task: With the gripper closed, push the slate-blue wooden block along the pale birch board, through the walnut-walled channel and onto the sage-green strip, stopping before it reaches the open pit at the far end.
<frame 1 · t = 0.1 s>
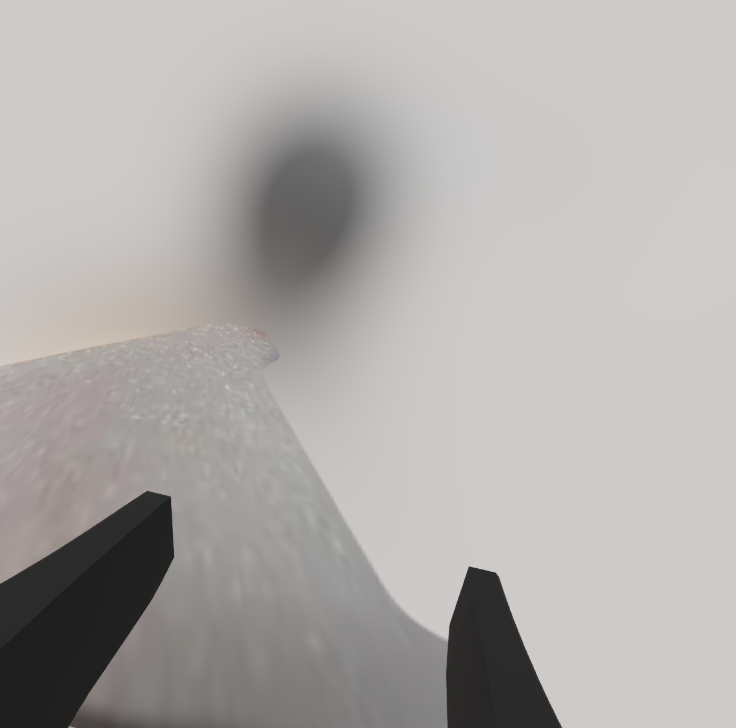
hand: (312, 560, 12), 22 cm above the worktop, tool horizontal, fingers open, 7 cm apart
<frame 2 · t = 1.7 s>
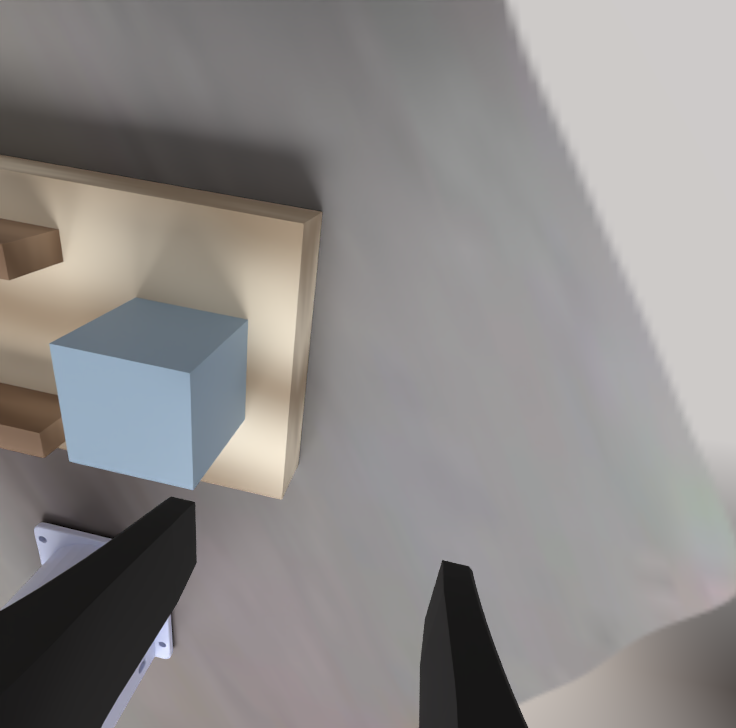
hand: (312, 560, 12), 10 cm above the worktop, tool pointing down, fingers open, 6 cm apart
block: (192, 360, 19), point 2 cm above the worktop, touching route board
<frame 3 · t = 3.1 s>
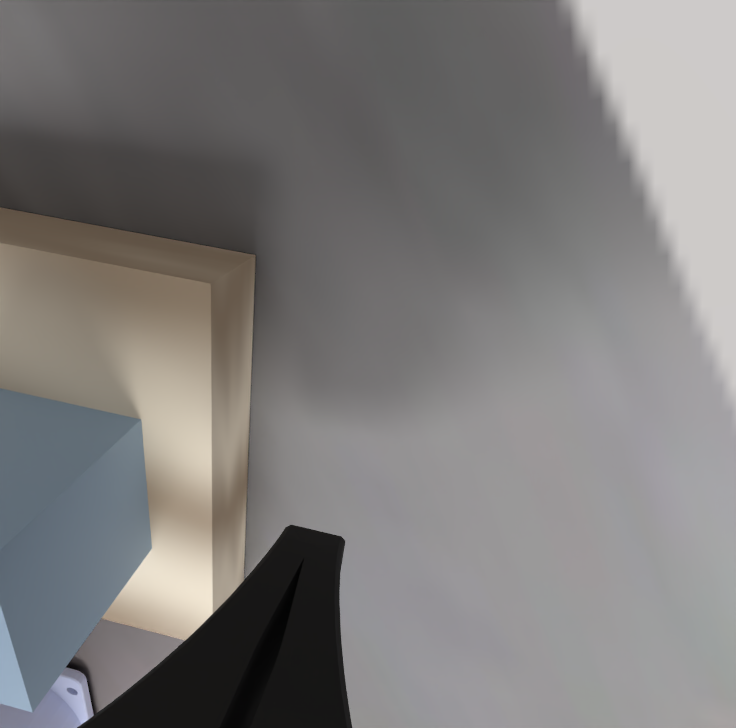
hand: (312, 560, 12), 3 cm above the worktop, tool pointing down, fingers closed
block: (69, 470, 13), point 2 cm above the worktop, touching route board
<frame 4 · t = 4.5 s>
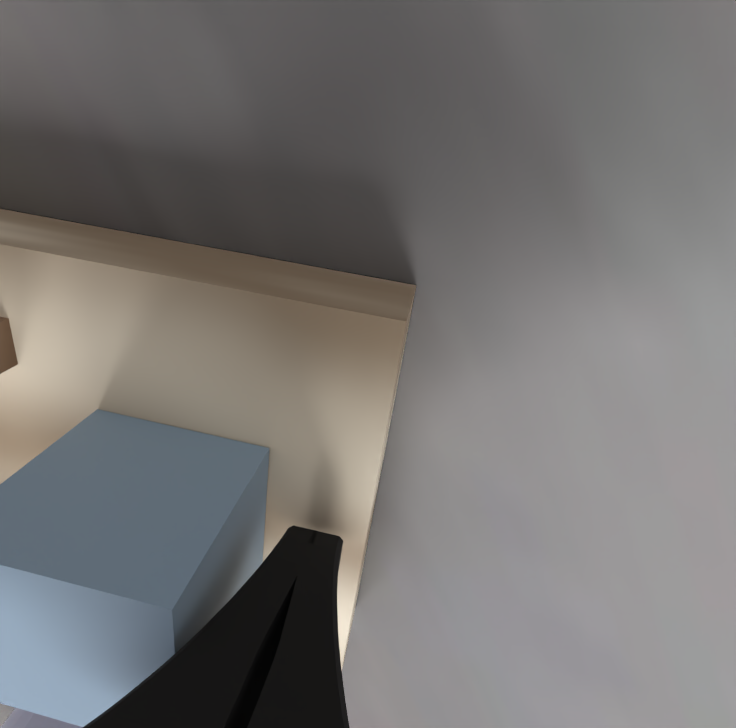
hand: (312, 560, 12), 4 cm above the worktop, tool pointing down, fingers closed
block: (184, 497, 13), point 3 cm above the worktop, touching gripper
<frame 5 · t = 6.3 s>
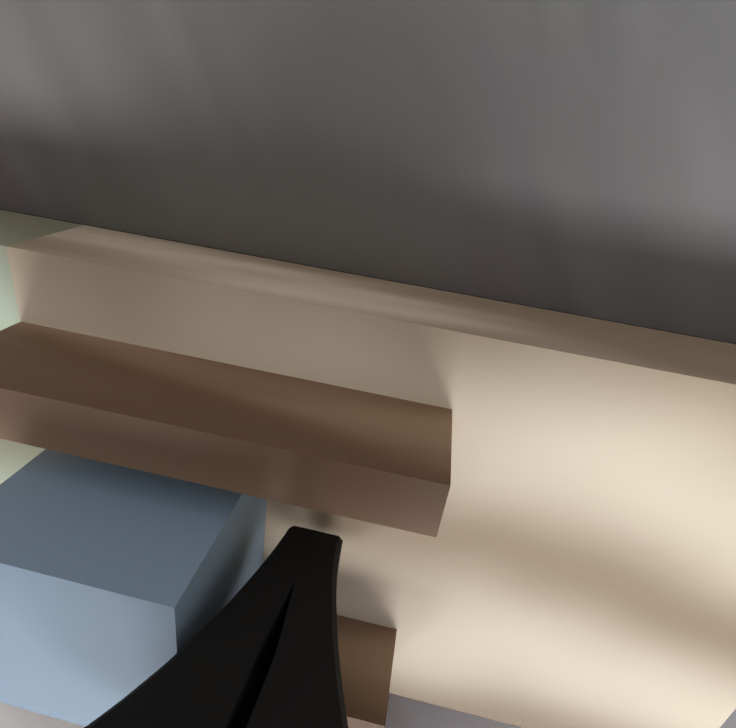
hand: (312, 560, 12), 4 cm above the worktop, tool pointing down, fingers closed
block: (185, 496, 13), point 3 cm above the worktop, touching gripper
route board: (198, 438, 15), on the worktop
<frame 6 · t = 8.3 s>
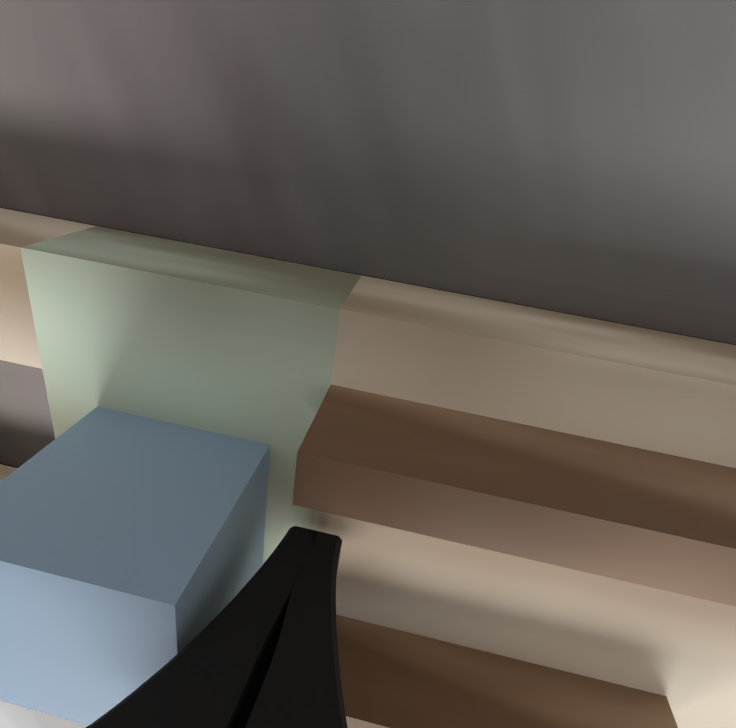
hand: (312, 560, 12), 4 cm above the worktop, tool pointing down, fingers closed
block: (184, 495, 13), point 3 cm above the worktop, touching gripper, route board
route board: (433, 489, 15), on the worktop
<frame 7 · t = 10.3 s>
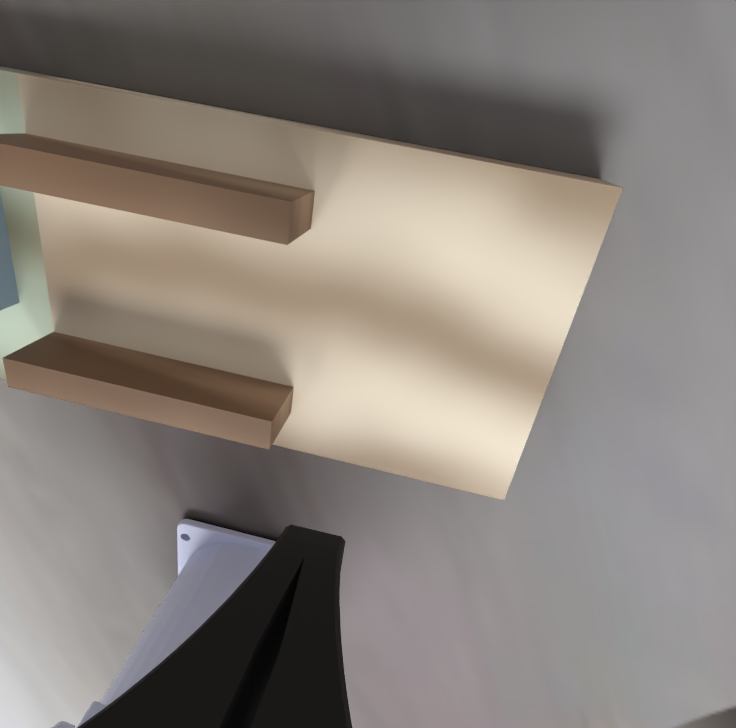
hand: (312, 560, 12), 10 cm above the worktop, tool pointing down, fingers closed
route board: (155, 257, 20), on the worktop
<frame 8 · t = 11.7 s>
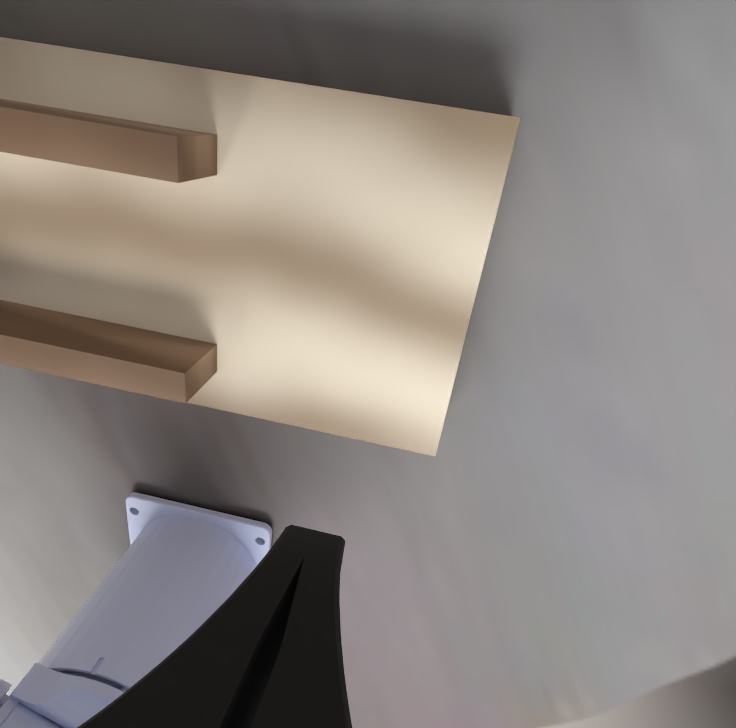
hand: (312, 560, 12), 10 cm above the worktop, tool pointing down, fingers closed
route board: (81, 219, 20), on the worktop
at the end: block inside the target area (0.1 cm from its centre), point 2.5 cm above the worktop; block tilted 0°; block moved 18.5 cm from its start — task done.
